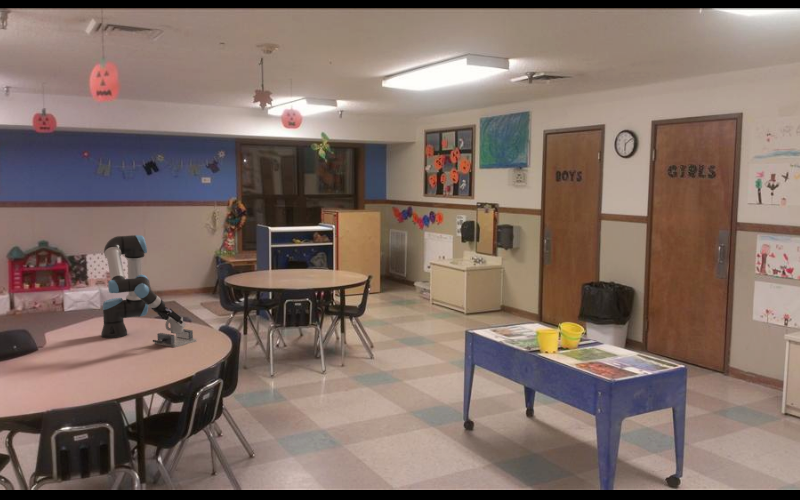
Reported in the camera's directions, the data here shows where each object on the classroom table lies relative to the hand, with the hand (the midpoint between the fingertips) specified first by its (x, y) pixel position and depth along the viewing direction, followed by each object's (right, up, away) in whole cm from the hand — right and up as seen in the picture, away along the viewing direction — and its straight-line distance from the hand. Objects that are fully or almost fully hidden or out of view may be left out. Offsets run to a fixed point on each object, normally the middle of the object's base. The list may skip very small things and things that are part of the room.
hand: (179, 325), depth 387 cm
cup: (-2, -4, -2) cm, 5 cm away
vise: (-3, -11, -4) cm, 12 cm away
